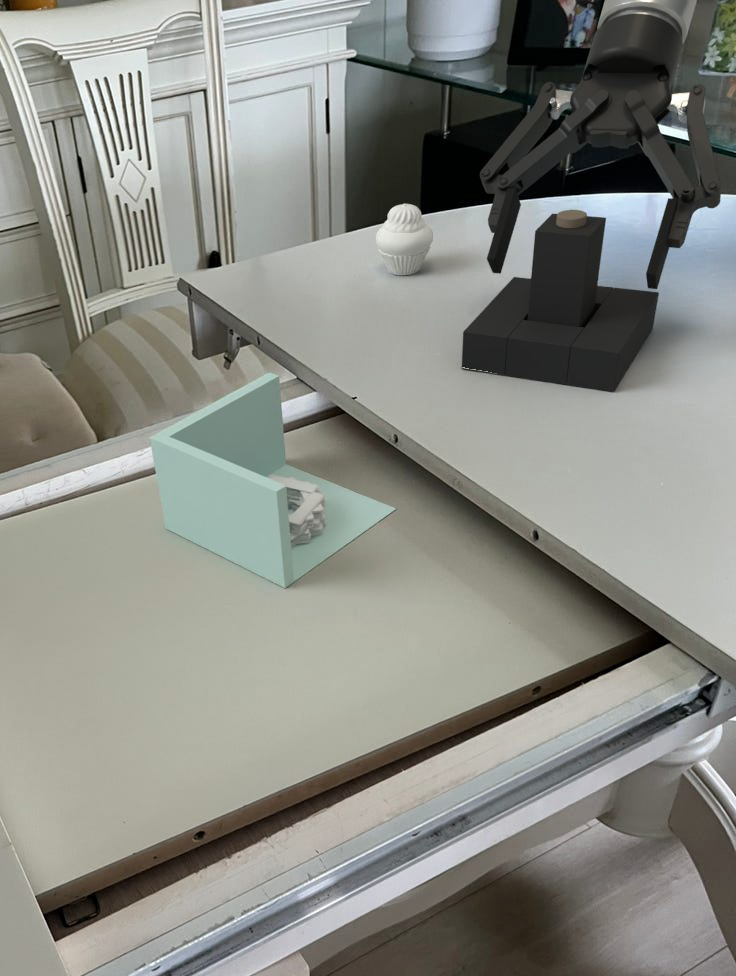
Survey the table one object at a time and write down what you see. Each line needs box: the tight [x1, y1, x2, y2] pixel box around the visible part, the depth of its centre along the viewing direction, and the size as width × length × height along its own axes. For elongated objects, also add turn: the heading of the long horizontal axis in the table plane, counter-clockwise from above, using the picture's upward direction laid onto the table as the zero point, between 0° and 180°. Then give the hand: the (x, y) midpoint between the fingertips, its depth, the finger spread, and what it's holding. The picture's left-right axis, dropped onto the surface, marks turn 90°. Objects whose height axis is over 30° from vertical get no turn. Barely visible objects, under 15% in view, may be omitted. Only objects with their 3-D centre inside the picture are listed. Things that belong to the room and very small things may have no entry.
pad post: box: [527, 209, 607, 328], centre depth 87 cm, size 5×5×12 cm
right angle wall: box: [149, 372, 397, 589], centre depth 71 cm, size 12×12×8 cm
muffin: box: [375, 202, 434, 276], centre depth 106 cm, size 6×6×7 cm
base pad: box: [461, 276, 660, 393], centre depth 89 cm, size 13×13×4 cm
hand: (569, 274), depth 86 cm, fingers open, 13 cm apart
